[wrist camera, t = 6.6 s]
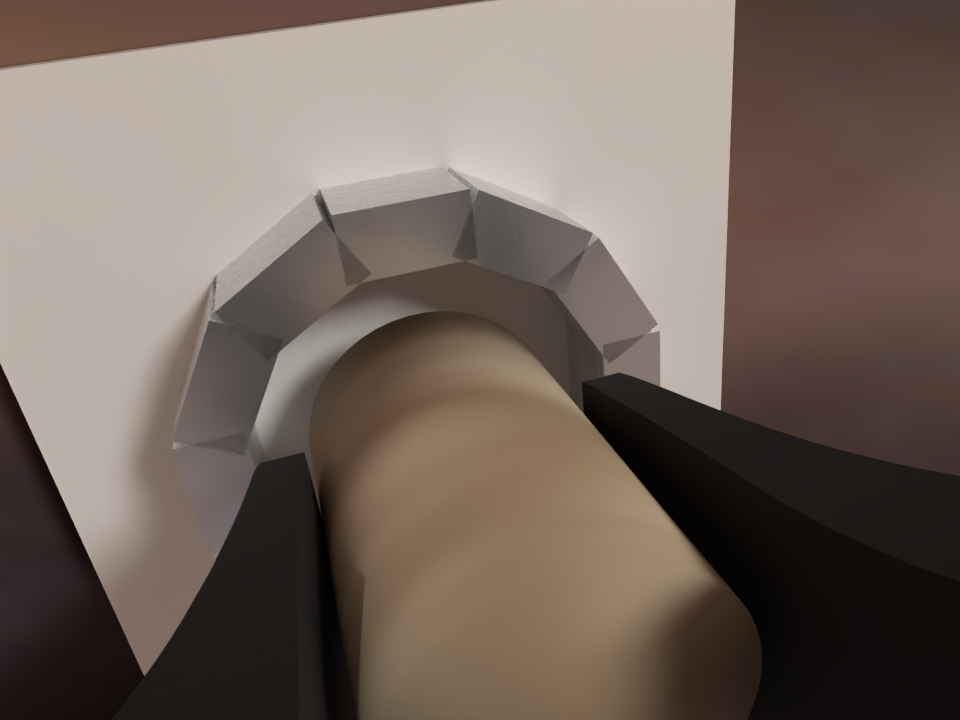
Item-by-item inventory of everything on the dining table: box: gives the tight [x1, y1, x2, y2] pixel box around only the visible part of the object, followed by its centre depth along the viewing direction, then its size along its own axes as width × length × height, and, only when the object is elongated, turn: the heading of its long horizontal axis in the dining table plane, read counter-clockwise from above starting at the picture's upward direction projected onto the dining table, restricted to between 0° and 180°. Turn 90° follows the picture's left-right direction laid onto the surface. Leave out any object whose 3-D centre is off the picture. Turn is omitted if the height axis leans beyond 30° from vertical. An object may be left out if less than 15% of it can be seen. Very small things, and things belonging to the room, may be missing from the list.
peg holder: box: [0, 0, 735, 676], centre depth 13 cm, size 12×12×2 cm
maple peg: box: [309, 311, 762, 720], centre depth 10 cm, size 4×4×6 cm
